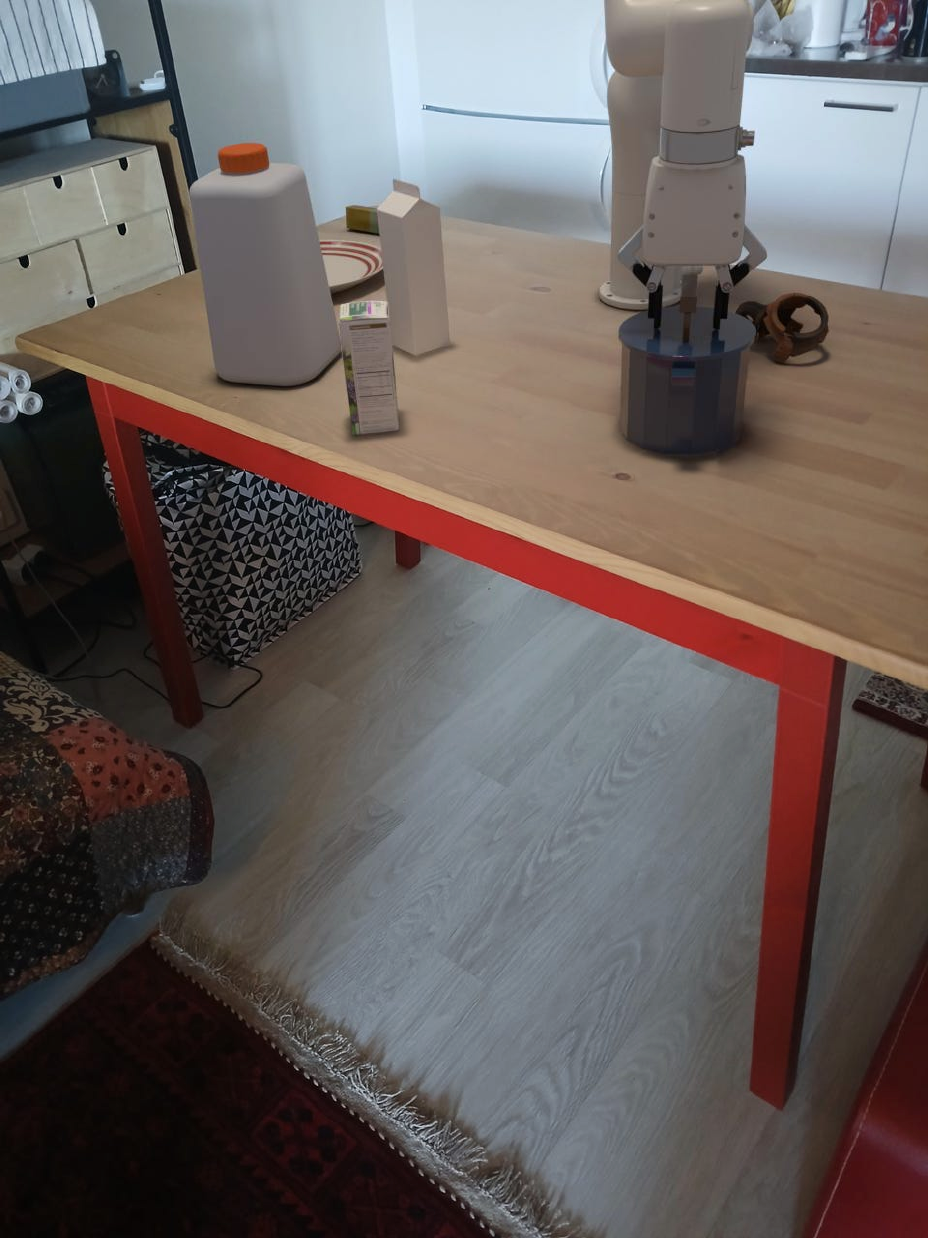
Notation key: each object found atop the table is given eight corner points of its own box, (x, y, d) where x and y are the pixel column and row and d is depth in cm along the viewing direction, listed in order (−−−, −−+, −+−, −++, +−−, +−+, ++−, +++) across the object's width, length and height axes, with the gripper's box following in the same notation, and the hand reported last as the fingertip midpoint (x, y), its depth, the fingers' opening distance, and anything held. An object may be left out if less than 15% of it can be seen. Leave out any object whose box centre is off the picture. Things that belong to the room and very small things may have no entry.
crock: (739, 396, 124) (748, 303, 117) (741, 472, 110) (752, 371, 103) (626, 394, 127) (628, 303, 120) (613, 468, 112) (616, 369, 105)
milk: (415, 359, 140) (398, 191, 127) (391, 347, 144) (372, 183, 131) (451, 347, 143) (438, 180, 129) (426, 335, 147) (411, 173, 133)
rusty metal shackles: (819, 337, 138) (842, 296, 130) (804, 392, 135) (826, 352, 127) (733, 311, 139) (751, 269, 132) (716, 364, 136) (732, 324, 128)
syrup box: (352, 418, 127) (336, 302, 118) (400, 413, 127) (387, 297, 118) (352, 439, 122) (335, 320, 113) (402, 434, 122) (389, 315, 113)
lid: (753, 316, 116) (758, 262, 112) (756, 368, 105) (763, 310, 101) (623, 315, 119) (624, 262, 115) (613, 366, 107) (614, 309, 104)
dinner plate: (304, 246, 185) (301, 227, 183) (424, 267, 171) (422, 247, 169) (190, 295, 168) (186, 274, 166) (313, 322, 154) (310, 300, 152)
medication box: (406, 234, 187) (405, 211, 185) (397, 237, 185) (396, 213, 183) (354, 225, 193) (353, 203, 191) (345, 228, 191) (344, 205, 189)
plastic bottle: (308, 391, 134) (270, 163, 117) (206, 384, 138) (155, 162, 121) (351, 346, 145) (322, 133, 128) (255, 341, 149) (215, 133, 133)
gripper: (788, 133, 101) (767, 312, 112) (613, 138, 104) (609, 311, 115) (792, 152, 95) (770, 339, 106) (607, 156, 99) (603, 337, 109)
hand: (686, 323), depth 111 cm, fingers open, 5 cm apart
